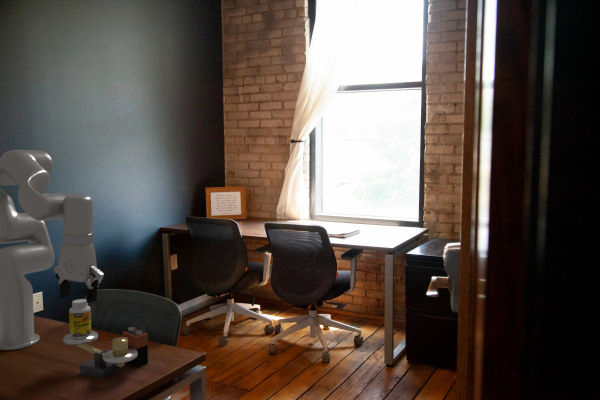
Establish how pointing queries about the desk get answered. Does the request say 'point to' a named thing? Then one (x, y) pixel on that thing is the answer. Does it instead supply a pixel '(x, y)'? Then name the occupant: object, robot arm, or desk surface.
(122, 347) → the brass weight
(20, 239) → the robot arm
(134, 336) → the battery
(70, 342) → the balance
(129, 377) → the desk surface
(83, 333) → the supplement bottle
